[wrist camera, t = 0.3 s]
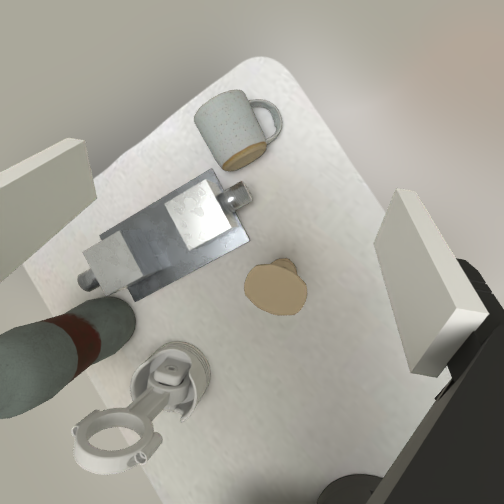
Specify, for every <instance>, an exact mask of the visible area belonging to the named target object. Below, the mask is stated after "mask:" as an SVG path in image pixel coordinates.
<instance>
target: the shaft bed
mask: <svg viewBox="0 0 504 504" xmlns="http://www.w3.org/2000/svg"><path fill="white" fill-rule="evenodd" d="M251 201H253V199H252V197H251V195H250V193H249V191H248V189H247V187H246V186H245V184H244V183H243V181H240V182H239V183H237V184H235V185H234V186H232V187H230V188H228V189H227V190H225V191H224V190H223V188H222V186H221V184H220V182H219V180H218V179H217V177H216V175H215V173H214V171H213V169H212V168H211V169H209V170H208V171H206V172H204V173H203V174H201V175H199V176H198V177H196V178H194V179H193V180H191V181H189V182H188V183H186V184H184V185H183V186H181V187H179V188H178V189H176V190H174V191H173V192H171V193H169V194H168V195H166V196H164V197H163V198H161V199H159V200H158V201H156V202H154V203H153V204H151V205H149V206H148V207H146V208H144V209H143V210H141V211H139V212H138V213H136V214H134V215H133V216H131V217H129V218H128V219H126V220H124V221H123V222H121V223H119V224H118V225H116V226H114V227H112V228H111V229H109V230H107V231H106V232H104V233H102V234H101V235H99V236H100V238H101V239H102V241H101V242H99V243H97V244H95V245H94V246H92V247H90V248H89V249H87V250H85V251H84V252H82V253H83V254H84V256H85V258H86V260H87V262H88V264H89V266H90V267H91V268H90V269H88V270H86V271H85V272H83V273H81V274H80V275H79V276H78V283H79V285H80V287H81V288H82V289H83V290H85V291H88V292H90V291H92V290H94V289H96V288H98V287H99V286H101V288H102V290H103V292H104V294H105V295H106V296H108V295H111V294H113V293H116V292H119V291H121V290H124V289H126V288H128V290H129V292H130V294H131V295H132V297H133V299H134V301H135V302H136V301H138V300H140V299H142V298H144V297H146V296H148V295H149V294H151V293H153V292H155V291H157V290H159V289H161V288H162V287H164V286H166V285H168V284H170V283H172V282H174V281H176V280H177V279H179V278H181V277H183V276H185V275H187V274H189V273H191V272H192V271H194V270H196V269H198V268H200V267H202V266H204V265H206V264H207V263H209V262H211V261H213V260H215V259H217V258H219V257H220V256H222V255H224V254H226V253H228V252H230V251H232V250H234V249H235V248H237V247H239V246H241V245H243V244H245V243H247V242H249V241H250V239H249V237H248V235H247V233H246V231H245V230H244V228H243V226H242V224H241V222H240V220H239V218H238V216H237V214H236V213H235V210H237V209H239V208H240V207H242V206H244V205H246V204H248V203H249V202H251Z"/></svg>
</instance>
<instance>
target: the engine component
mask: <svg viewBox="0 0 504 504" xmlns="http://www.w3.org/2000/svg"><path fill="white" fill-rule="evenodd" d="M209 380H210V368H209V364H208V362H207V360H206V358H205V356H204V355H203V354H202V353H201V351H200V350H198V349H197V348H196V347H195V346H193V345H191V344H188V343H185V342H170V343H167V344H165V345H163V346H162V347H161V348H159V349H158V350H157V351H156V352H155V353H154V354H153V355H151V356H150V357H149V358H148V359H147V360H146V361H145V362H144V363H143V364H141V365H140V366H139V367H138V368H137V370H136V371H135V372H134V374H133V377H132V379H131V384H130V392H131V397H132V401H133V402H132V403H131V404H130V405H129V406H128V407H127V408H113V409H107V410H103V411H99V410H94V411H93V412H92V413H90V414H89V415H88V416H86V417H85V418H84V419H83V420H81V421H80V422H79V423H78V424H76V425H75V426H74V427H73V428H72V430H71V432H72V435H73V437H75V443H74V458H75V460H76V462H77V463H78V464H79V465H80V466H81V467H82V468H83V469H85V470H87V471H89V472H92V473H96V474H104V475H105V474H106V475H108V474H116V473H121V472H124V471H127V470H129V469H131V468H133V467H135V466H136V465H138V464H139V465H144V464H146V462H147V461H148V460H149V459H150V457H151V456H152V455H153V453H154V452H155V451H156V450H157V448H158V447H159V446H160V444H161V443H162V441H163V438H162V436H161V435H160V434H159V433H157V432H154V429H153V424H152V422H151V421H152V420H153V419H154V418H155V417H156V416H157V415H158V414H159V413H160V412H161V411H162V410H164V411H167V412H177V413H180V414H182V417H181V420H180V422H184V421H185V420H186V419H187V418H189V416H190V415H191V414H192V412H193V411H194V409H195V407H196V406H197V404H198V402H199V400H200V399H201V397H202V395H203V394H204V392H205V390H206V388H207V386H208V384H209ZM112 427H125V428H129V429H131V430H134V431H135V432H137V433H138V434H139V435H140V437H141V439H140V440H139V441H138V442H137V443H135V444H134V445H132V446H130V447H128V448H125V449H122V450H116V451H107V450H101V449H98V448H96V447H94V446H92V445H91V444H90V443H89V442H88V439H89V438H90V437H91V436H93V435H94V434H95V433H97V432H99V431H101V430H103V429H107V428H112ZM153 432H154V433H153Z"/></svg>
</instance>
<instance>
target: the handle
mask: <svg viewBox="0 0 504 504" xmlns="http://www.w3.org/2000/svg"><path fill="white" fill-rule="evenodd" d="M244 291H245V295H246V296H247V297H248V298H249V300H250V301H251V302H252V303H253V304H254V305H255V306H257V307H258V308H260V309H262V310H264V311H266V312H269V313H271V314H274V315H295V314H296V313H298V312H299V311H300V310H301V308H302V307H303V305H304V303H305V301H306V298H307V287H306V283H305V282H304V281H303V280H302V279H301V278H300V277H299V276H298V275H297V270H296V267H295V265H294V264H293V263H292V262H291V261H290V260H289V259H287V258H285V259H277V260H275V261H274V262H272V263H271V264H261V265H257V266H255V267H254V268H253V269H252V270H251V271H250V272H249V274H248V275H247V278H246V280H245V285H244Z"/></svg>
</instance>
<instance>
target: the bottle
mask: <svg viewBox="0 0 504 504" xmlns="http://www.w3.org/2000/svg"><path fill="white" fill-rule="evenodd" d="M134 329H135V317H134V313H133V311H132V309H131V307H130V306H129V305H128V304H127V303H126V302H124V301H122V300H120V299H118V298H113V297H104V298H97V299H92V300H88V301H86V302H84V303H82V304H80V305H79V306H77V307H75V308H73V309H71V310H70V311H68V312H66V313H65V314H63V315H59V316H56V317H52V318H49V319H46V320H42V321H39V322H35V323H31V324H28V325H24V326H19V327H15V328H13V329H11V330H9V331H7V332H5V333H3V334H1V335H0V419H5V418H12V417H14V416H17V415H20V414H23V413H24V412H27V411H28V410H31V409H33V408H35V407H36V406H38V405H40V404H42V403H44V402H46V401H48V400H49V399H51V398H53V397H54V396H55V395H56V394H57V393H58V392H59V391H60V390H61V389H63V388H64V386H66V385H67V384H68V383H69V382H71V381H72V380H73V379H74V378H75V377H77V376H78V375H79V374H81V372H83V371H84V370H85V369H87V368H88V367H89V366H90V365H92V364H95V363H97V362H99V361H101V360H103V359H105V358H107V357H109V356H111V355H113V354H115V353H116V352H117V351H118V350H119V349H120V348H121V347H122V346H123V345H124V344H125V343H126V342H127V341H128V340H129V339H130V337H131V335H132V333H133V331H134Z"/></svg>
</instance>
